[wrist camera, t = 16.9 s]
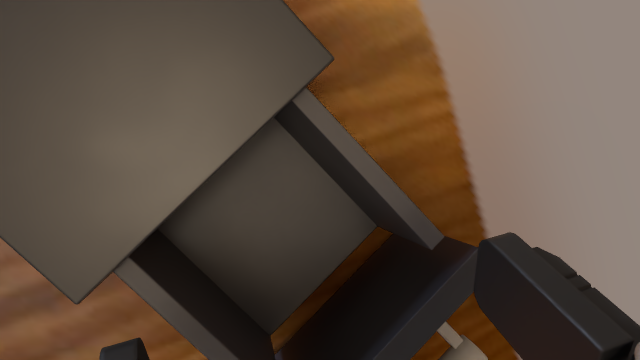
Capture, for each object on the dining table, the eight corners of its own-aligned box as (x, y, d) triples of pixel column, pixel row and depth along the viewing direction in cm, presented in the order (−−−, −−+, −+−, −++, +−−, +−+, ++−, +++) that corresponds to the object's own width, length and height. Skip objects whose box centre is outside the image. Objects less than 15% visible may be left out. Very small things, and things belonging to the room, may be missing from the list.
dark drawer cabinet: (297, 96, 28) (336, 58, 18) (135, 251, 27) (76, 306, 17) (94, -121, 26) (4, -309, 16) (-94, 37, 25) (-329, -53, 14)
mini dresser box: (464, 285, 30) (560, 336, 21) (333, 426, 29) (377, 541, 20) (245, 52, 27) (253, 0, 18) (89, 197, 26) (18, 216, 17)
